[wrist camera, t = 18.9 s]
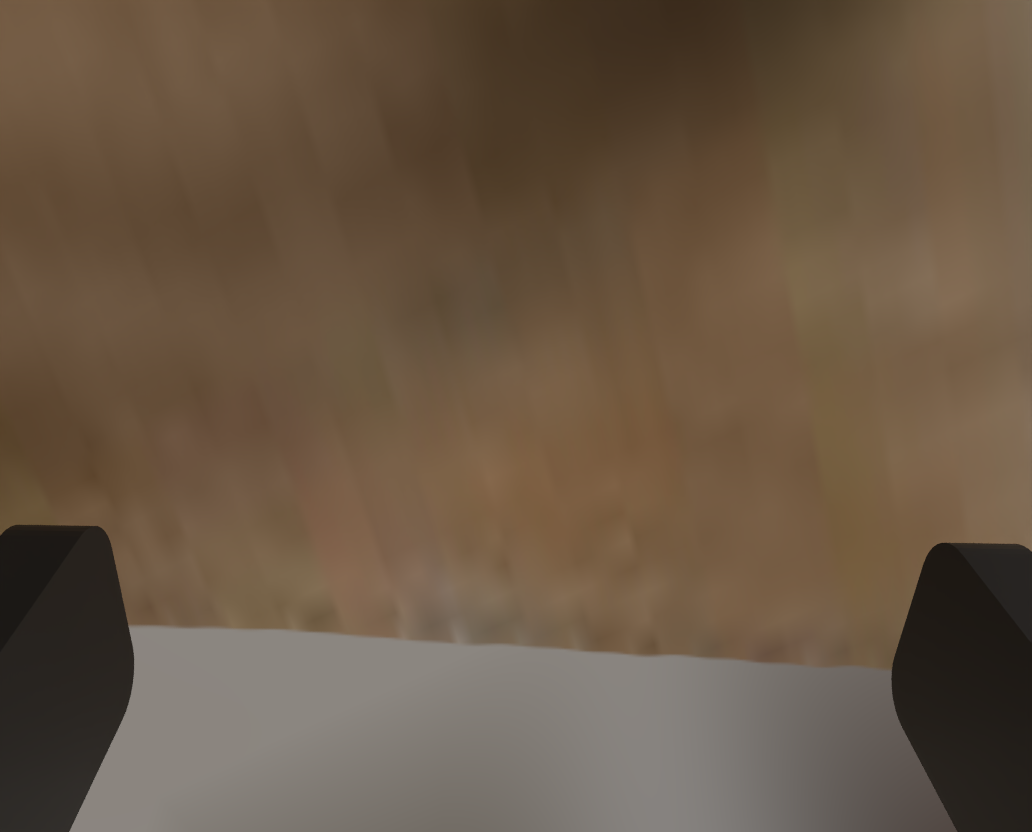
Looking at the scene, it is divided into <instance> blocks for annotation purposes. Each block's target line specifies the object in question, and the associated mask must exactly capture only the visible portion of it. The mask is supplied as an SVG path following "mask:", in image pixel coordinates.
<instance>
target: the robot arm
mask: <svg viewBox="0 0 1032 832" xmlns="http://www.w3.org/2000/svg"><path fill="white" fill-rule="evenodd" d="M133 675H134V653H133V646H132V641H131V637H130V632H129V627H128V622H127V618H126V613H125V608H124V603H123V599H122V594H121V589H120V584H119V580H118V575H117V570H116V565H115V561H114V556H113V551H112V547H111V543H110V540H109V538H108V536H107V534H106V532H105V531H104V530H103V529H102V528H100V527H98V526H55V525H14V526H11V527H10V528H8V529H7V530H5V531H4V532H3V533H2V535H1V536H0V832H69V831H70V829H71V826H72V824H73V822H74V820H75V818H76V816H77V814H78V812H79V809H80V808H81V805H82V803H83V801H84V799H85V797H86V795H87V793H88V791H89V789H90V786H91V784H92V782H93V780H94V778H95V776H96V774H97V772H98V770H99V768H100V765H101V763H102V761H103V759H104V757H105V755H106V753H107V751H108V749H109V747H110V744H111V742H112V740H113V738H114V736H115V734H116V732H117V730H118V728H119V726H120V723H121V721H122V719H123V717H124V714H125V712H126V709H127V706H128V703H129V699H130V695H131V690H132V684H133ZM892 694H893V700H894V705H895V709H896V712H897V716H898V719H899V721H900V723H901V726H902V728H903V730H904V731H905V733H906V735H907V737H908V739H909V741H910V743H911V745H912V747H913V749H914V750H915V752H916V754H917V756H918V758H919V760H920V762H921V764H922V766H923V767H924V769H925V771H926V773H927V775H928V777H929V779H930V781H931V782H932V784H933V786H934V788H935V790H936V792H937V794H938V796H939V798H940V800H941V801H942V803H943V805H944V807H945V809H946V811H947V813H948V815H949V817H950V818H951V820H952V822H953V824H954V826H955V828H956V830H957V831H958V832H1032V552H1031V551H1030V550H1029V549H1028V548H1026V547H1024V546H1022V545H1019V544H982V543H940V544H937V545H936V546H934V547H933V548H932V549H931V550H930V552H929V553H928V555H927V557H926V559H925V562H924V564H923V567H922V571H921V574H920V577H919V580H918V583H917V587H916V590H915V593H914V596H913V599H912V603H911V606H910V609H909V612H908V615H907V619H906V622H905V625H904V628H903V631H902V635H901V638H900V641H899V644H898V647H897V651H896V654H895V657H894V661H893V667H892Z"/></svg>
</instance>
